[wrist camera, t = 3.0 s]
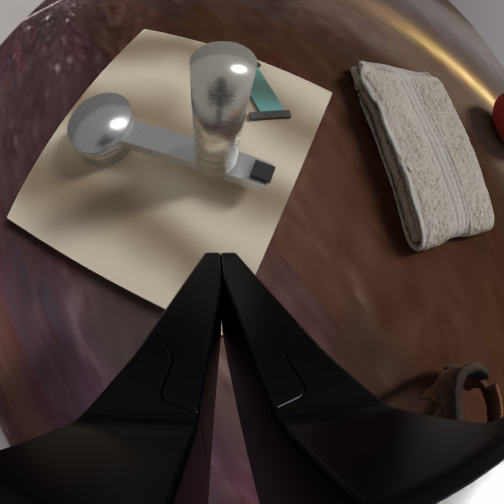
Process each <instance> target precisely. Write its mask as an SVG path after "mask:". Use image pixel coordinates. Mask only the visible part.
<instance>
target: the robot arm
mask: <svg viewBox="0 0 504 504" xmlns="http://www.w3.org/2000/svg"><path fill="white" fill-rule="evenodd" d="M221 322H222V332H223V339H224V344H225V349H226V354H227V360H228V365H229V370H230V375H231V380H232V385H233V390H234V395H235V399H236V404H237V409H238V413H239V418H240V423H241V427H242V432H243V436H244V440H245V445H246V449H247V453H248V458H249V462H250V466H251V469H252V475H253V479H254V483H255V487H256V491H257V495H258V498H259V502H260V504H504V416H503V417H502V418H500V419H499V420H496V421H493V422H488V423H471V422H464V421H458V420H451V419H446V418H440V417H435V416H430V415H425V414H420V413H415V412H410V411H406V410H402V409H398V408H395V407H393V406H391V405H389V404H387V403H385V402H383V401H382V400H380V399H379V398H378V397H376V396H375V395H374V394H372V393H371V392H370V391H369V390H368V389H367V388H365V387H364V386H363V385H362V384H361V383H360V382H358V381H357V380H356V379H355V378H354V377H353V376H351V375H350V374H349V373H348V372H347V371H346V370H344V369H343V368H342V367H341V366H340V365H339V364H338V363H336V362H335V361H334V360H333V359H332V358H331V357H330V356H329V355H328V354H327V353H326V352H325V351H323V350H322V349H321V348H320V346H319V345H318V344H317V343H316V342H315V341H314V340H313V339H312V338H311V337H310V336H309V335H308V334H307V333H306V332H305V330H304V329H303V328H302V327H300V325H299V324H298V323H297V322H296V320H295V319H294V318H293V317H292V316H291V315H290V314H289V313H288V311H287V310H286V309H285V308H284V307H283V306H282V305H281V304H280V302H279V301H278V300H277V299H276V298H275V297H274V296H273V295H272V293H271V292H270V291H269V290H268V289H267V288H266V287H265V285H264V284H263V283H262V282H261V281H260V280H259V279H258V277H257V276H256V275H255V274H254V273H253V272H252V271H251V270H250V268H249V267H248V266H247V265H246V264H245V263H244V262H243V260H242V259H241V258H240V257H239V256H238V255H237V254H236V253H234V252H230V253H221V255H220V253H205V254H204V255H203V257H202V258H201V260H200V261H199V262H198V264H197V265H196V267H195V268H194V269H193V271H192V272H191V274H190V275H189V276H188V278H187V279H186V281H185V282H184V284H183V285H182V286H181V288H180V289H179V291H178V292H177V294H176V295H175V297H174V298H173V299H172V301H171V302H170V304H169V305H168V307H167V308H166V310H165V311H164V313H163V314H162V315H161V317H160V318H159V320H158V321H157V323H156V324H155V326H154V327H153V330H151V331H150V333H149V334H148V336H147V337H146V339H145V340H144V342H143V343H142V345H141V346H140V347H139V349H138V350H137V352H136V353H135V354H134V356H133V357H132V358H131V359H130V361H129V362H128V363H127V364H126V365H125V367H124V368H123V369H122V370H121V371H120V373H119V374H118V375H117V376H116V377H115V378H114V380H113V381H112V382H111V383H110V384H109V385H108V387H107V388H106V389H105V390H104V391H103V392H102V393H101V395H100V396H99V397H98V398H97V399H96V400H95V402H94V403H93V404H92V405H91V406H90V407H89V409H88V410H87V411H86V412H85V413H83V414H82V415H81V416H80V417H79V418H78V419H76V420H75V421H73V422H72V423H70V424H68V425H66V426H64V427H61V428H59V429H56V430H54V431H51V432H49V433H46V434H44V435H41V436H39V437H36V438H33V439H31V440H28V441H25V442H22V443H20V444H17V445H14V446H11V447H9V448H5V449H2V450H0V504H208V496H209V480H210V464H211V449H212V436H213V422H214V410H215V397H216V386H217V374H218V363H219V352H220V341H221Z"/></svg>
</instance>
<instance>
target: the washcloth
mask: <svg viewBox="0 0 504 504" xmlns="http://www.w3.org/2000/svg"><path fill="white" fill-rule="evenodd" d="M351 73H352V77H353V78H354V79H353V81H354V86H355V89H356V90H357V91H359V93H358V96H359V97H360V104H361V106H362V108H363V111H364V114H365V116H366V118H367V121H368V124H369V126H370V128H371V131H372V133H373V136H374V139H375V141H376V144H377V147H378V150H379V152H380V155H381V158H382V161H383V164H384V167H385V169H386V172H387V175H388V178H389V181H390V184H391V187H392V189H393V193H394V197H395V200H396V203H397V207H398V212H399V215H400V219H401V223H402V227H403V230H404V234H405V237H406V240H407V242H408V244H409V245H410V247H411V248H412V249H413V250H415V251H420V250H427V249H430V248H432V247H436V246H438V245H440V244H442V243H444V242H445V241H447V240H448V239H450V238H454V237H459V236H461V237H467V236H473V235H478V234H479V233H481V232H486V231H489V230H490V229H491V228H493V226H494V213H493V209H492V206H491V202H490V198H489V194H488V192H487V188H486V186H485V183H484V179H483V176H482V173H481V169H480V167H479V163H478V160H477V158H476V155H475V152H474V149H473V148H472V146H471V143H470V141H469V137H468V135H467V133H466V132H465V128H464V127H463V124H462V122H461V121H460V119H459V117H458V114H457V112H456V110H455V108H454V106H453V105H452V102H451V99H450V98H449V96H448V93H447V91H446V90H445V89H444V86H443V84H442V83H441V82H440V81H439V80H438V78H436V77H433V76H431V75H430V74H429V73H427V72H420V73H419V72H412V71H408V70H405V69H401V68H396V67H391V66H388V65H384V64H377V63H370V62H365V61H359V62H358V67H356V66H354V67H352V68H351ZM361 97H362V98H361ZM366 107H367V108H366Z"/></svg>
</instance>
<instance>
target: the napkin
mask: <svg viewBox="0 0 504 504" xmlns="http://www.w3.org/2000/svg"><path fill="white" fill-rule="evenodd" d="M205 44H206V43H203V42H199V41H195V40H191V39H187V38H184V37H179V36H175V35H171V34H166V33H162V32H157V31H152V30H147V29H144V30H143V31H142V32H141V33H140V34H138V35H137V36H136V37H135V38H134V39H133V40H132V41H131V42H130V43H129V44H128V45H127V46H126V47H125V48H124V49H123V50H122V51H121V52H120V53H119V54H118V55H117V56H116V57H115V58H114V59H113V61H112V62H111V63H110V64H109V65H108V66H107V67H106V68H105V69H104V70H103V71H102V73H101V74H100V75H99V76H98V77H97V78H96V79H95V81H94V82H93V83H92V84H91V85H90V87H89V88H88V89H87V90H86V91H85V93H84V94H83V95H82V96H81V98H80V99H79V100H78V101H77V103H76V104H75V105H74V107H73V108H72V109H71V111H70V112H69V113H68V115H67V116H66V117H65V119H64V120H63V122H62V123H61V124H60V126H59V127H58V129H57V130H56V132H55V133H54V135H53V136H52V138H51V139H50V141H49V142H48V144H47V145H46V147H45V148H44V150H43V151H42V153H41V155H40V156H39V158H38V160H37V161H36V163H35V165H34V166H33V168H32V170H31V172H30V173H29V175H28V177H27V179H26V180H25V182H24V184H23V186H22V188H21V190H20V192H19V194H18V195H17V197H16V199H15V201H14V203H13V205H12V208H11V210H10V212H9V214H8V216H7V218H8V219H10V220H11V221H13V222H14V223H15V224H17V225H18V226H20V227H21V228H23V229H25V230H26V231H28V232H29V233H31V234H32V235H34V236H35V237H37V238H38V239H40V240H42V241H43V242H45V243H46V244H48V245H50V246H51V247H53V248H54V249H56V250H58V251H59V252H61V253H63V254H64V255H66V256H68V257H69V258H71V259H73V260H74V261H76V262H78V263H80V264H81V265H83V266H85V267H87V268H88V269H90V270H92V271H94V272H95V273H97V274H99V275H101V276H103V277H104V278H106V279H108V280H110V281H112V282H114V283H115V284H117V285H119V286H121V287H123V288H125V289H127V290H129V291H130V292H132V293H134V294H136V295H138V296H140V297H142V298H144V299H146V300H148V301H150V302H152V303H154V304H156V305H158V306H160V307H162V308H164V309H166V308H167V307H168V305H169V304H170V302H171V301H172V299H173V298H174V297H175V295H176V294H177V292H178V291H179V289H180V288H181V286H182V285H183V284H184V282H185V281H186V279H187V278H188V276H189V275H190V274H191V272H192V271H193V269H194V268H195V267H196V265H197V264H198V262H199V261H200V260H201V258H202V257H203V255H204V254H205V253H220V255H221V253H230V252H234V253H236V254H237V255H238V256H239V257H240V258H241V259H242V260H243V262H244V263H245V264H246V265H247V266H248V267H249V268H250V270H251V271H252V272H253V273H254V274H255V275H256V272H257V270H258V268H259V265H260V263H261V261H262V258H263V256H264V254H265V251H266V249H267V247H268V244H269V242H270V240H271V238H272V235H273V233H274V231H275V228H276V226H277V224H278V221H279V219H280V217H281V214H282V212H283V210H284V207H285V205H286V202H287V200H288V198H289V195H290V193H291V191H292V188H293V186H294V184H295V181H296V179H297V177H298V174H299V172H300V169H301V167H302V165H303V162H304V160H305V158H306V155H307V153H308V150H309V148H310V146H311V143H312V141H313V138H314V136H315V134H316V131H317V129H318V126H319V124H320V122H321V119H322V117H323V114H324V112H325V110H326V107H327V105H328V102H329V100H330V97H331V95H332V92H330V91H328V90H326V89H324V88H322V87H319V86H317V85H315V84H313V83H311V82H309V81H307V80H304V79H302V78H300V77H298V76H295V75H293V74H291V73H288V72H286V71H284V70H281V69H279V68H276V67H274V66H271V65H269V64H266V63H263V62H261V61H258V60H257V68H256V73H255V77H254V81H253V86H252V90H251V95H250V99H249V104H248V108H247V113H246V117H245V122H244V127H243V131H242V136H241V141H240V146H239V152H242V153H245V154H248V155H250V156H253V157H256V158H259V159H262V160H264V161H267V162H270V163H272V164H274V165H273V166H275V167H276V168H275V171H274V174H273V177H272V179H271V182H270V184H269V183H267V185H266V188H265V190H264V192H263V194H262V193H259V192H256V191H253V190H251V189H248V188H245V187H242V186H240V185H237V184H234V183H231V182H228V181H225V180H220V181H210V180H207V179H205V178H203V177H202V176H201V175H200V174H199V173H198V172H197V171H196V170H193V169H190V168H187V167H183V166H180V165H177V164H174V163H171V162H168V161H165V160H161V159H158V158H155V157H152V156H148V155H145V154H142V153H138V152H135V151H132V150H131V151H130V152H129V153H128V154H127V155H126V156H125V157H124V158H122V159H121V160H120V161H118V162H116V163H114V164H111V165H107V166H94V165H91V164H89V163H87V162H86V161H85V160H84V159H83V158H82V156H81V155H80V154H79V152H78V151H77V150H76V148H75V147H74V146H73V145H72V143H71V142H70V140H69V138H68V135H67V126H68V122H69V119H70V117H71V115H72V114H73V112H74V111H75V110H76V109H77V107H78V106H79V105H80V104H82V103H83V102H84V101H86V100H87V99H89V98H91V97H93V96H95V95H98V94H101V93H117V94H120V95H122V96H123V97H125V98H126V99H127V100H128V102H129V104H130V107H131V110H132V113H133V115H134V118H135V121H139V122H143V123H147V124H150V125H154V126H158V127H162V128H165V129H169V130H172V131H176V132H179V133H183V134H186V135H189V136H193V124H192V107H191V86H190V58H191V55H192V54H193V53H194V51H195V50H197V49H198V48H199V47H201V46H203V45H205ZM221 335H223V332H222V322H221Z"/></svg>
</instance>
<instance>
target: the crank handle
mask: <svg viewBox="0 0 504 504" xmlns="http://www.w3.org/2000/svg"><path fill="white" fill-rule="evenodd" d="M256 68H257V59H256V57H255V55H254V54H253V52H252V51H251V50H249V49H248V48H247V47H245V46H243V45H240V44H238V43H234V42H228V41H217V42H211V43H208V44H205V45H203V46H201V47H199V48H198V49H197V50H195V51H194V53H193V54H192V55H191V58H190V86H191V107H192V124H193V136H189V135H186V134H183V133H179V132H176V131H172V130H169V129H165V128H162V127H158V126H154V125H150V124H147V123H143V122H139V121H135V118H134V115H133V113H132V110H131V107H130V104H129V102H128V100H127V99H126V98H125V97H123V96H122V95H120V94H117V93H101V94H98V95H95V96H93V97H91V98H89V99H87V100H86V101H84V102H83V103H82V104H80V105H79V106H78V107H77V109H76V110H75V111H74V112H73V114H72V115H71V117H70V119H69V122H68V126H67V135H68V138H69V140H70V142H71V143H72V145H73V146H74V147H75V148H76V150H77V151H78V152H79V154H80V155H81V156H82V158H83V159H84V160H85V161H86V162H87V163H89V164H91V165H94V166H107V165H111V164H114V163H116V162H118V161H120V160H121V159H122V158H124V157H125V156H126V155H127V154H128V153H129V152H130V151H131V150H132V151H135V152H138V153H142V154H145V155H148V156H152V157H155V158H158V159H161V160H165V161H168V162H171V163H174V164H177V165H180V166H183V167H187V168H190V169H193V170H196V171H197V172H198V173H199V174H200V175H201V176H202V177H203V178H205V179H207V180H210V181H220V180H225V181H228V182H231V183H234V184H237V185H240V186H242V187H245V188H248V189H251V190H253V191H256V192H259V193H262V194H263V192H264V190H265V188H266V185H267V183H269V184H270V182H271V179H272V177H273V174H274V171H275V168H276V167H275V166H273V165H274V164H272V163H270V162H267V161H264V160H262V159H259V158H256V157H253V156H250V155H248V154H245V153H242V152H239V146H240V141H241V136H242V131H243V127H244V122H245V117H246V113H247V108H248V104H249V99H250V95H251V90H252V86H253V81H254V77H255V73H256Z"/></svg>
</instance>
